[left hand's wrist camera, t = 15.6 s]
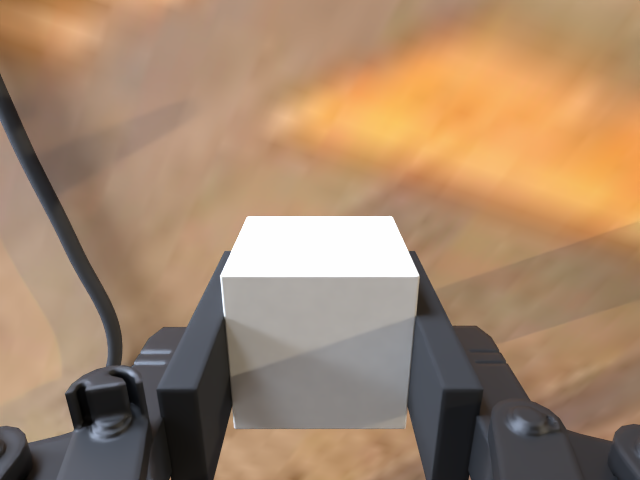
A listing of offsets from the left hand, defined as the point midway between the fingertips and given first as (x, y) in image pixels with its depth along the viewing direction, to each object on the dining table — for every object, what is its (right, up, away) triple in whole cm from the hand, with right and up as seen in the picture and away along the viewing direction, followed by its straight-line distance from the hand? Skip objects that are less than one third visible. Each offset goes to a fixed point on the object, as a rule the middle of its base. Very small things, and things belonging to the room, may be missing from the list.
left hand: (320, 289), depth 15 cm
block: (0, 0, 0) cm, 0 cm away
